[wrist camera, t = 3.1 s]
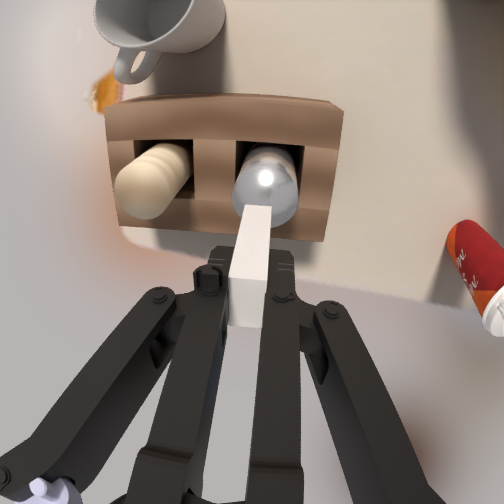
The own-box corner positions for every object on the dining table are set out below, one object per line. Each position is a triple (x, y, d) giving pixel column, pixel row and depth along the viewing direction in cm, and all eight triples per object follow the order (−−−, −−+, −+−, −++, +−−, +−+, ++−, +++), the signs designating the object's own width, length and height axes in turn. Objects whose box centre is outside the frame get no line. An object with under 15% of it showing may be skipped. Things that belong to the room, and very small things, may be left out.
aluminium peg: (245, 138, 26) (232, 165, 19) (296, 142, 26) (302, 170, 19) (244, 184, 28) (231, 225, 22) (291, 188, 28) (294, 230, 22)
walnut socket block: (141, 96, 29) (103, 107, 22) (328, 101, 28) (343, 111, 21) (148, 193, 35) (119, 225, 29) (315, 205, 34) (323, 242, 28)
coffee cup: (428, 244, 36) (475, 327, 23) (467, 200, 31) (532, 270, 19) (458, 271, 37) (500, 348, 25) (493, 233, 33) (548, 302, 21)
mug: (169, -25, 20) (121, -55, 11) (241, -3, 22) (220, -36, 13) (123, 68, 27) (63, 76, 18) (188, 93, 28) (146, 107, 19)
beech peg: (151, 137, 26) (110, 163, 20) (196, 137, 26) (166, 163, 20) (154, 180, 29) (119, 218, 22) (197, 182, 29) (171, 221, 22)
